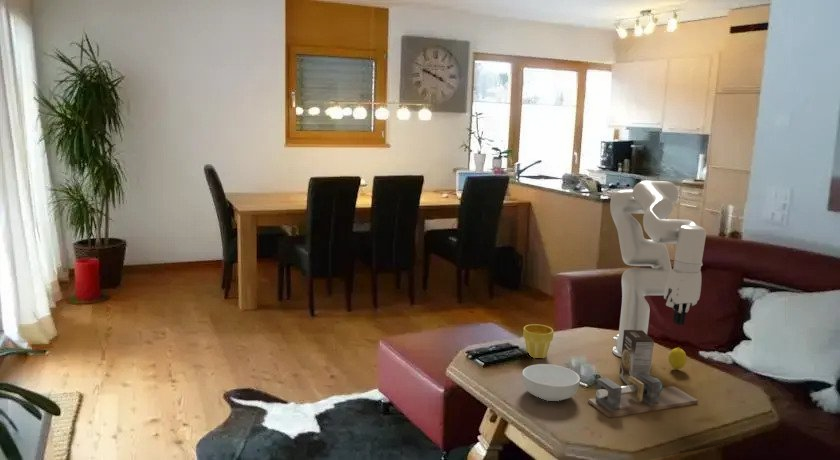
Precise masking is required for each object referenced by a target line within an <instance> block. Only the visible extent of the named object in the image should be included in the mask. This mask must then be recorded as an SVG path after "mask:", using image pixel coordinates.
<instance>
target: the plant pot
mask: <svg viewBox="0 0 840 460" xmlns="http://www.w3.org/2000/svg"><path fill="white" fill-rule="evenodd" d="M522 331H523V333H522V337H523V339H524V342H525V349H526V353H527V352H528V353H529V355H530V356H531V357H533V359H535V358H543V359H546V357H547V355H548V351H549V349H550V344H551V342H552V341H553V338H554V329H553V328H552V327H550V326H548V325H545V324H537V323H535V324H534V323H533V324H526V325H525V326H524V327H523V330H522ZM531 357H530V358H531Z"/></svg>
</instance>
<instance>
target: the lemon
mask: <svg viewBox="0 0 840 460" xmlns="http://www.w3.org/2000/svg"><path fill="white" fill-rule="evenodd" d="M668 363H669V365H670V367H672V368H673V369H674V370H675V371H678V370H680V369H682V368H684V367H685V365H686V364H687V354H686V352H685V351H684V350H683V349H682V348H680V347H678V346H677V347H675V348H672V350H670V351H669V355H668Z"/></svg>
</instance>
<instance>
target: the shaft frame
mask: <svg viewBox="0 0 840 460" xmlns="http://www.w3.org/2000/svg"><path fill="white" fill-rule="evenodd" d="M656 378H657V377H654V376H652V375H651V374H650V375H649V374H647V373H645V372H642V373H637V375H636V378H634V377H633V376H629V378H628V385H633V383H634V384H636V385H637V386H638V391H637V393H631V394H625V395H621V390H622V387H621V386H620V384H617V383H616V382H614V381H613V380H611V379H610V378H608V377H601V378H597V383H596V391H597V390H600V389H607V390H608V397H605V398H598V397H597V396H595V397H593V398H588V400H587V402H589V404H590V405H591V404H592V405H593V408H595V407H596V408H597V409H596V408H595V409H596V410H598V411H599V410H600V411H599V412H601V413H602V414H603V413H604V414H603V415H604V416H606V417H607V416H608V417H607V418H609V419H611V418H610V417H612V418H617V417H624V416H629V415H634V414H635V415H636V414H641V413H647V412H653V411H659V410H664V409H665V410H666V409H671V408H672V409H673V408H678V407H683V406H689V405H695V404H698V401H699V400H698V399H696V398H695V397H693V396H692V395H690V394H688V393H686V392H685V391H682V390H681V389H679V388H678V387H676V386H674V385H671V386H666V387H662V391H661V392H660V386H661V384H662V382H661V380H660V379H659V380H660V381H659V380H657V379H656ZM644 383H646V384H648V387H647V391H645V392H643V389H644ZM592 405H591V406H592Z"/></svg>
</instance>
